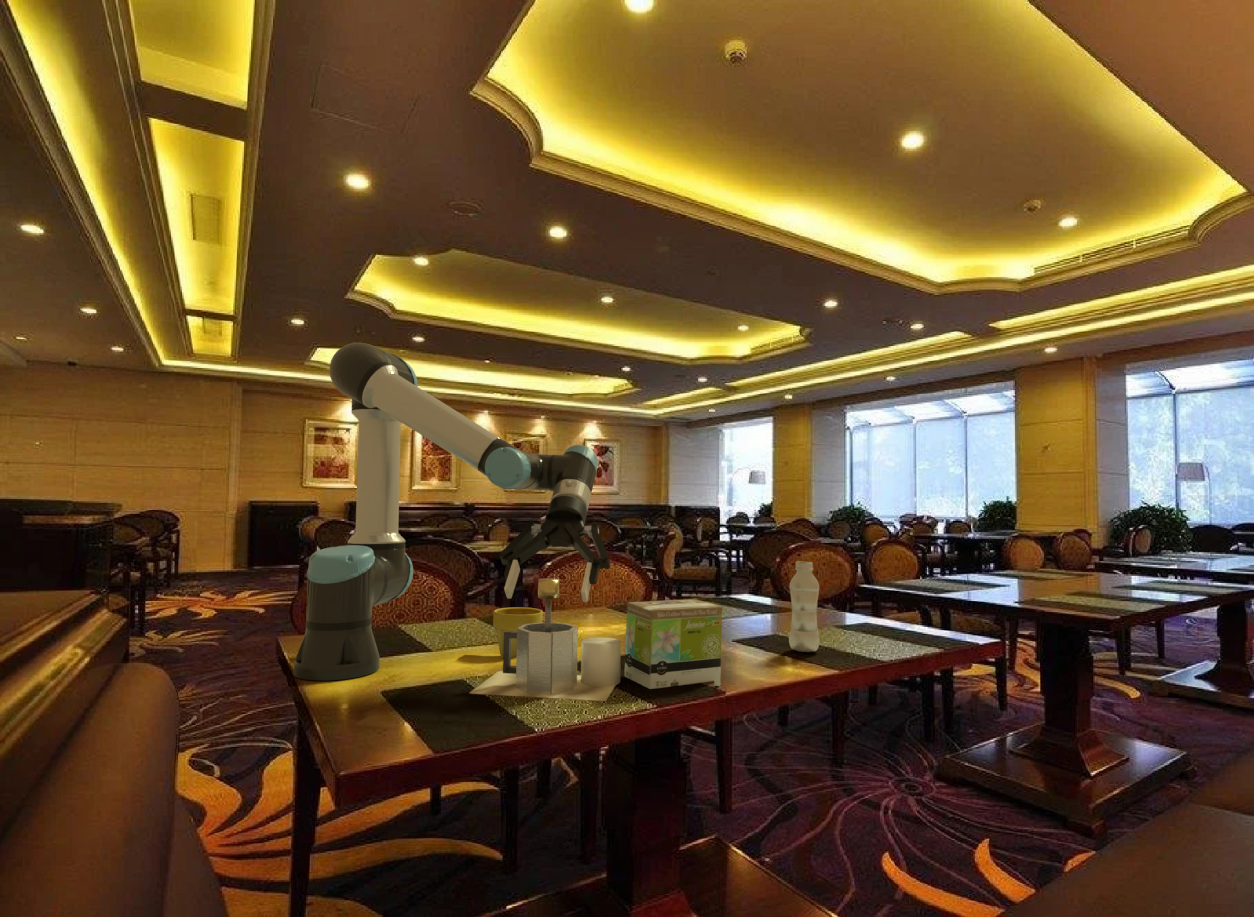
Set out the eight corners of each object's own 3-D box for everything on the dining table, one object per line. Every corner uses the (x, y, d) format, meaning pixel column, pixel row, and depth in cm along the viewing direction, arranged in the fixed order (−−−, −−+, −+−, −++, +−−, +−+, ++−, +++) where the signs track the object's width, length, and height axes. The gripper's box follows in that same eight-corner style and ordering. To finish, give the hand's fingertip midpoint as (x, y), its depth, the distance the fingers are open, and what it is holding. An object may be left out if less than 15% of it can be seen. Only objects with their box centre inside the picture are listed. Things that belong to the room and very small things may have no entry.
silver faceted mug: (494, 691, 114) (495, 631, 115) (512, 676, 124) (513, 620, 124) (567, 695, 112) (569, 634, 113) (580, 680, 122) (581, 623, 122)
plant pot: (546, 652, 149) (547, 607, 149) (535, 664, 138) (536, 615, 139) (500, 651, 150) (501, 606, 150) (485, 662, 140) (487, 613, 140)
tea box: (650, 697, 117) (651, 609, 117) (623, 682, 125) (624, 601, 126) (722, 687, 123) (723, 604, 124) (692, 674, 132) (693, 597, 133)
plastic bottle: (795, 647, 158) (795, 560, 159) (824, 651, 154) (823, 562, 155) (784, 652, 153) (784, 562, 154) (813, 656, 149) (813, 564, 150)
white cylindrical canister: (576, 685, 118) (577, 644, 119) (585, 675, 125) (585, 636, 126) (616, 687, 117) (617, 646, 118) (622, 677, 124) (623, 638, 125)
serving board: (468, 700, 113) (468, 693, 113) (498, 677, 128) (498, 670, 128) (605, 708, 110) (605, 700, 110) (620, 683, 124) (620, 677, 124)
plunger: (521, 670, 115) (523, 581, 116) (533, 661, 122) (534, 576, 123) (562, 672, 114) (563, 582, 115) (571, 662, 121) (572, 578, 122)
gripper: (503, 492, 133) (471, 578, 117) (629, 495, 129) (614, 584, 113) (511, 519, 138) (481, 605, 122) (633, 522, 134) (618, 611, 118)
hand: (545, 595), depth 118 cm, fingers open, 13 cm apart
